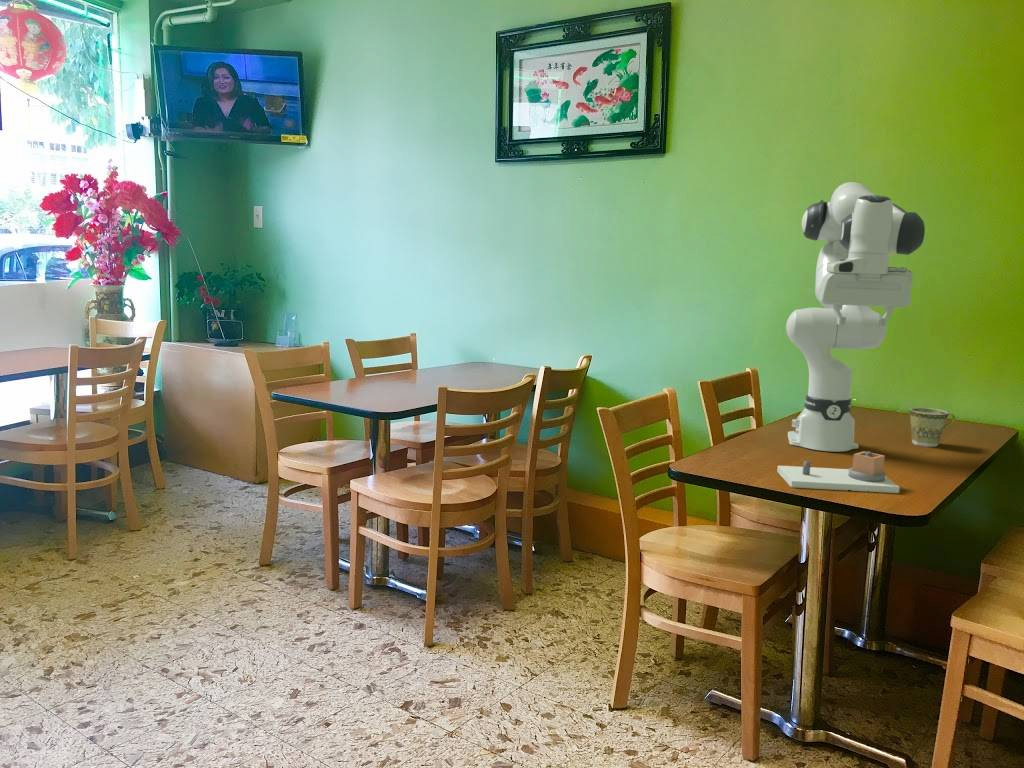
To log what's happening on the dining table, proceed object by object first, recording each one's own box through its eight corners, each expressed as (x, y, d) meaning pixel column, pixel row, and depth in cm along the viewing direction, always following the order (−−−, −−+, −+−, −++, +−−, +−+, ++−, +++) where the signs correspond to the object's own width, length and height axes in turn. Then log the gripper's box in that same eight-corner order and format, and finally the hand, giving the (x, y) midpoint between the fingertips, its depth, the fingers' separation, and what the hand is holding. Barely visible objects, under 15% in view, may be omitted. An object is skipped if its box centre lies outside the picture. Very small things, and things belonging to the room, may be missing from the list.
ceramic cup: (917, 448, 232) (921, 413, 230) (899, 440, 242) (903, 407, 240) (961, 449, 233) (965, 414, 231) (941, 440, 242) (945, 408, 241)
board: (777, 471, 201) (779, 440, 200) (877, 476, 199) (880, 445, 198) (791, 487, 187) (794, 454, 186) (898, 493, 185) (902, 460, 184)
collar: (852, 470, 192) (853, 454, 192) (862, 467, 196) (864, 451, 195) (872, 475, 189) (874, 458, 188) (882, 472, 192) (884, 455, 191)
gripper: (908, 267, 192) (901, 325, 194) (819, 264, 194) (814, 322, 196) (919, 267, 186) (912, 328, 188) (827, 264, 187) (821, 324, 190)
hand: (861, 325), depth 192 cm, fingers open, 8 cm apart
